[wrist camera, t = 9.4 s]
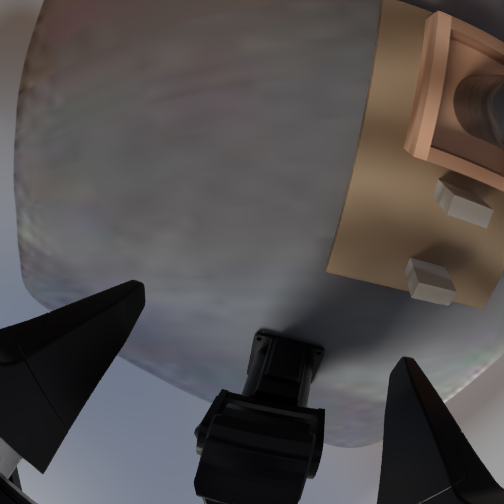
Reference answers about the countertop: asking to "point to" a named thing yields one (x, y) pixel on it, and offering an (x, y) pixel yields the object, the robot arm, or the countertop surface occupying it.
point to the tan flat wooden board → (424, 167)
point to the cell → (481, 107)
